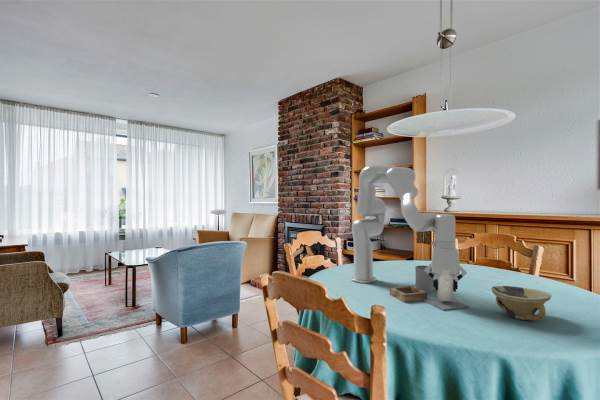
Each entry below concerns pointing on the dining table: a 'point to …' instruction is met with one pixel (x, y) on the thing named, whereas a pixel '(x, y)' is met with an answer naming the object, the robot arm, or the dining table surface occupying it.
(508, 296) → the bowl
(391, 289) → the tray
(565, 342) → the dining table surface
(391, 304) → the dining table surface
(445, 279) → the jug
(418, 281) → the cup
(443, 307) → the coaster
